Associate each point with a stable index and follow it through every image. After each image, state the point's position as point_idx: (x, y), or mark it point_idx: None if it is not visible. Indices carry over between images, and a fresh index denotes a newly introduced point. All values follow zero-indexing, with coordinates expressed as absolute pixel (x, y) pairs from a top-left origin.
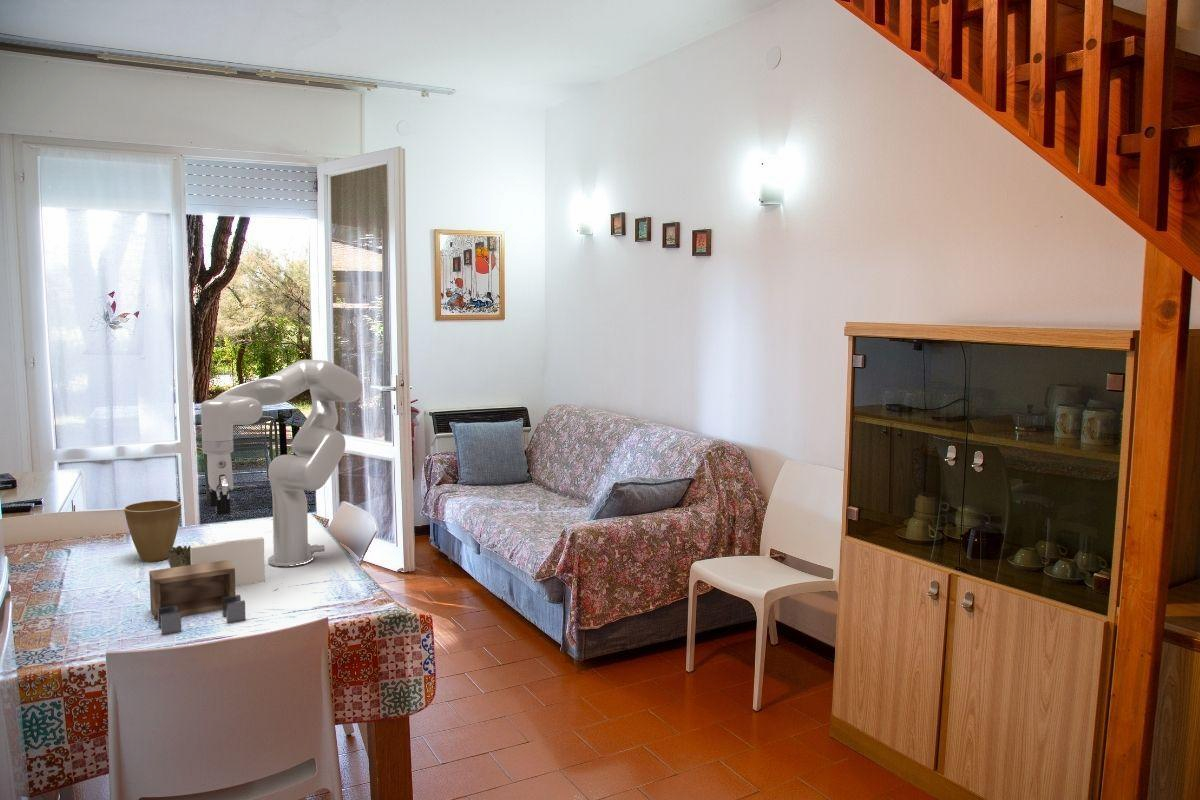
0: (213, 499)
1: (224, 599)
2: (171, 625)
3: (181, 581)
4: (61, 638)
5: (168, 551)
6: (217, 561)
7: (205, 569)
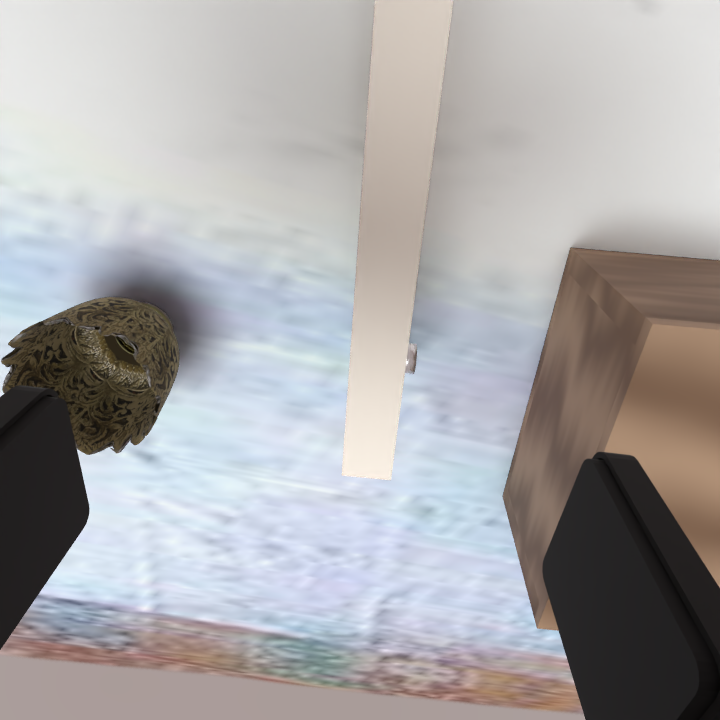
0: (24, 584)
1: None
2: None
3: None
4: (562, 666)
5: None
6: (634, 382)
7: None
